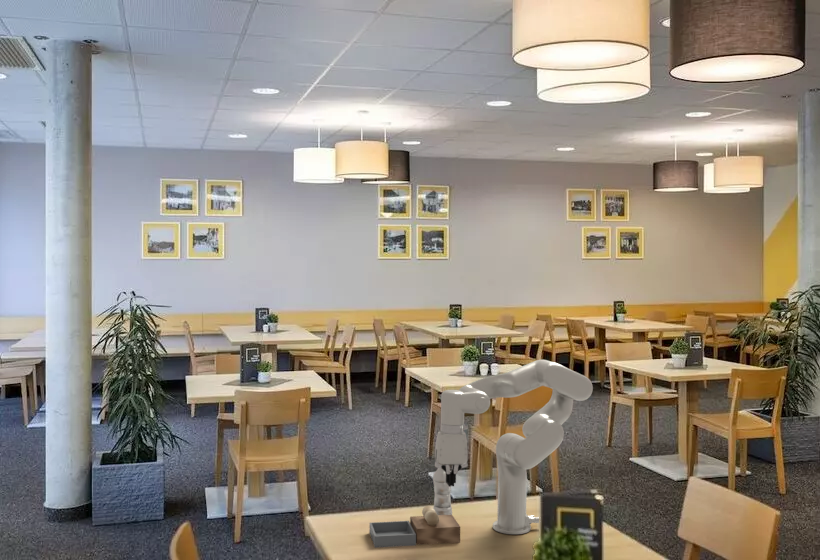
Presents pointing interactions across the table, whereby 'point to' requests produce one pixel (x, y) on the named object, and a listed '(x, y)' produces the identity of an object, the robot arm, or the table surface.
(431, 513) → the maple roller
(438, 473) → the plastic bottle
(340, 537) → the table surface
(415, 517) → the flat wooden case
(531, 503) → the table surface
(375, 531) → the box
